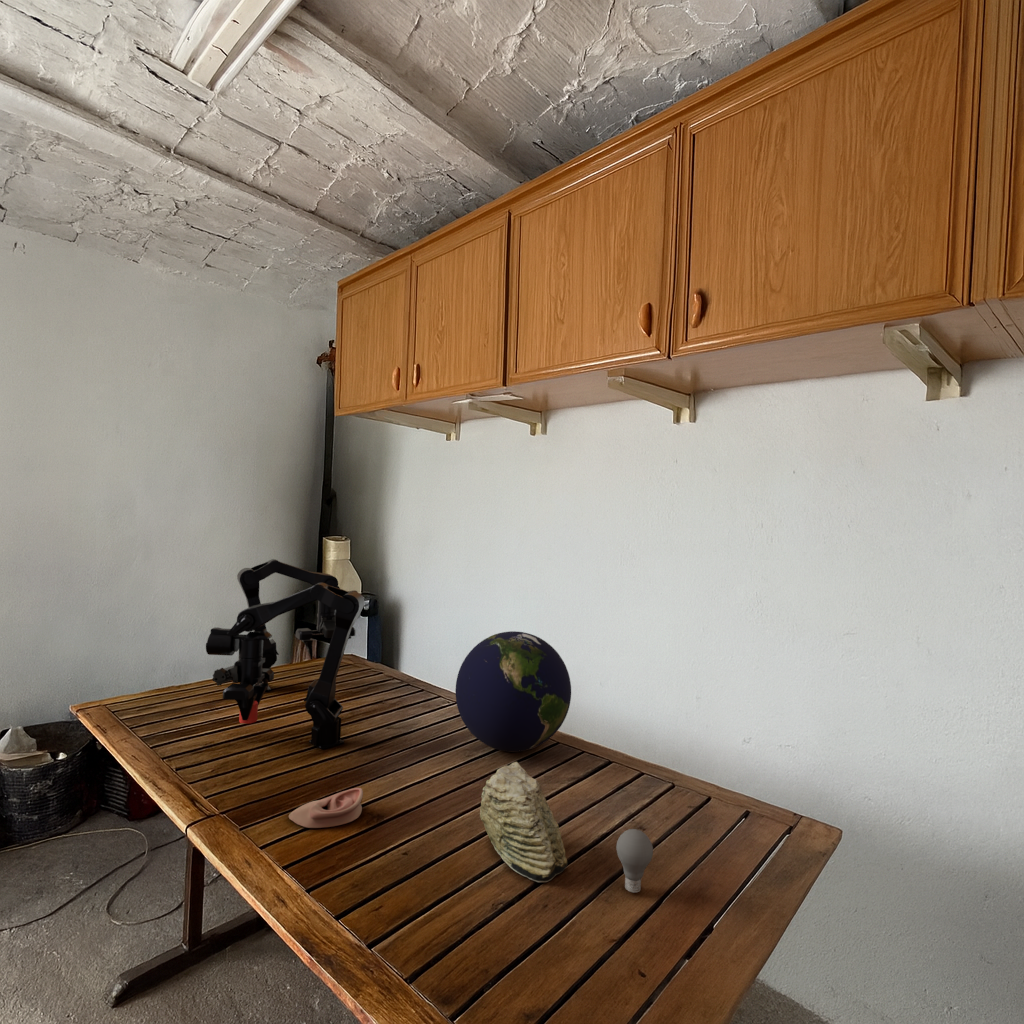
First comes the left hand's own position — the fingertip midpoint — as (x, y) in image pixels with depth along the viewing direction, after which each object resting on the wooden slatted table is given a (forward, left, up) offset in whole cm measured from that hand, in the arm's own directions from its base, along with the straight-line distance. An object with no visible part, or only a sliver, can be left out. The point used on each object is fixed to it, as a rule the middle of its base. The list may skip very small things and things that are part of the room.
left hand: (325, 657), depth 214 cm
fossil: (+119, +1, -8) cm, 119 cm away
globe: (+76, +26, -8) cm, 81 cm away
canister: (+41, -32, -3) cm, 52 cm away
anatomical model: (+88, -25, -8) cm, 92 cm away
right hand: (+41, -32, -2) cm, 52 cm away
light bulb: (+136, +11, -8) cm, 137 cm away
